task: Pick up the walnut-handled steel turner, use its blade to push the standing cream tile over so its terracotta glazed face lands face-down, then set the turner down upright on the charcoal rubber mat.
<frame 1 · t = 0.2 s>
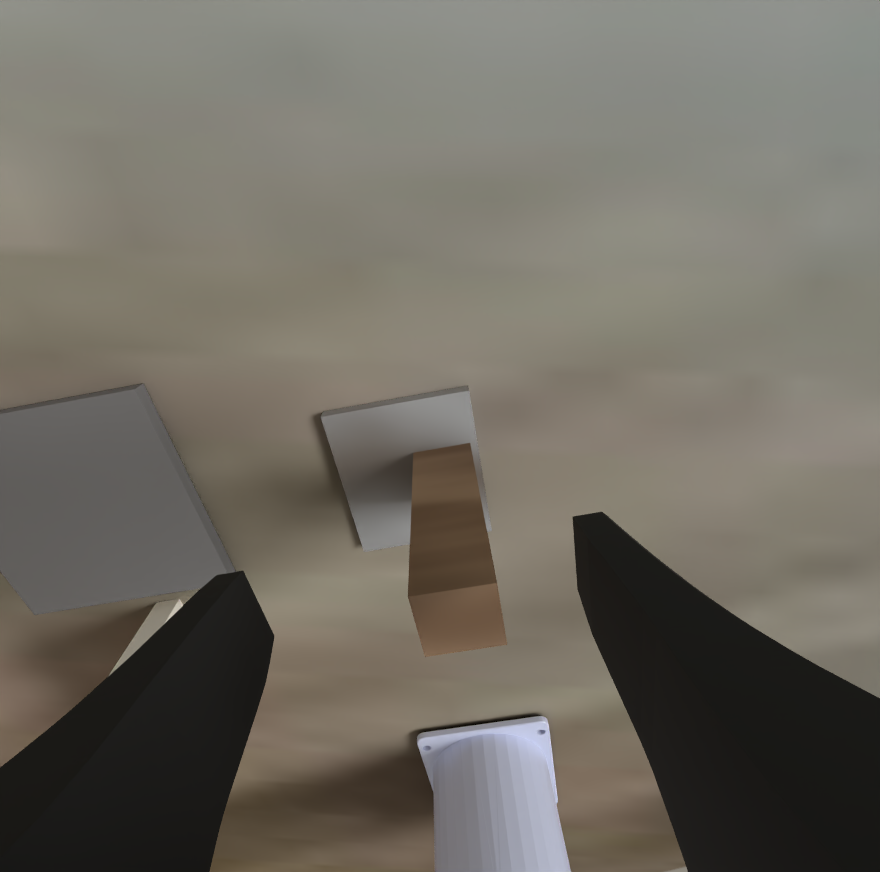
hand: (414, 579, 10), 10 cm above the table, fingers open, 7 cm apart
tile: (196, 648, 25), on the table
turner: (445, 464, 21), on the table
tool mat: (87, 507, 21), on the table
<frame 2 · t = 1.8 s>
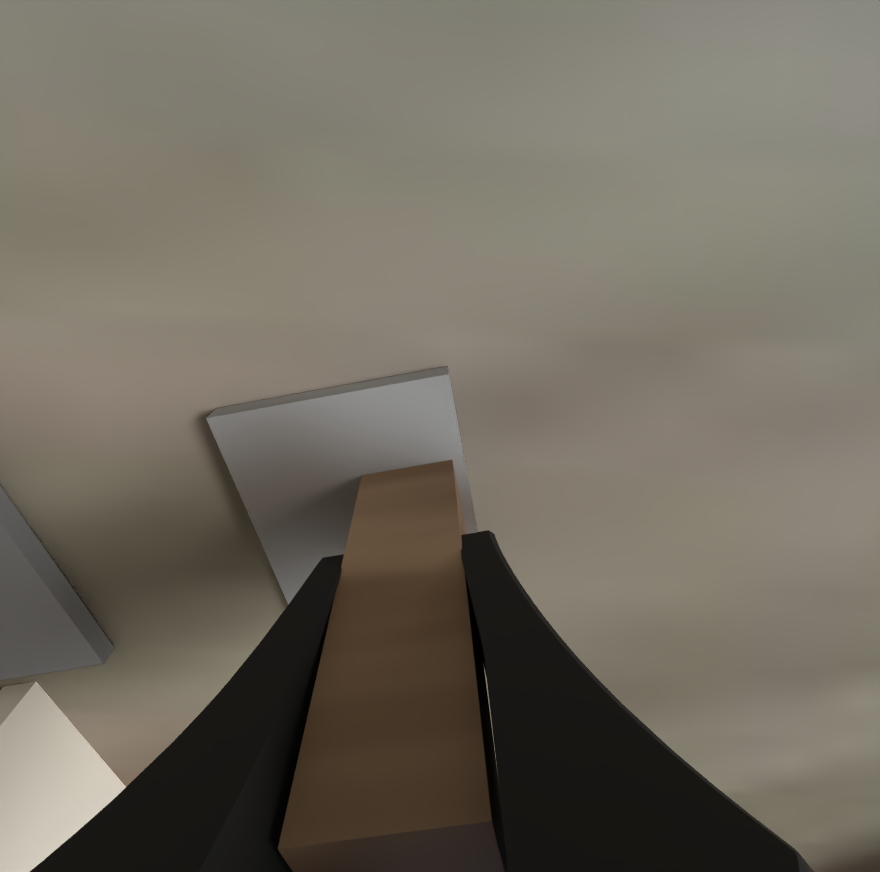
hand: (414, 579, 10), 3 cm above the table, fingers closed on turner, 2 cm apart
tile: (72, 743, 18), on the table
turner: (416, 492, 13), on the table, touching gripper
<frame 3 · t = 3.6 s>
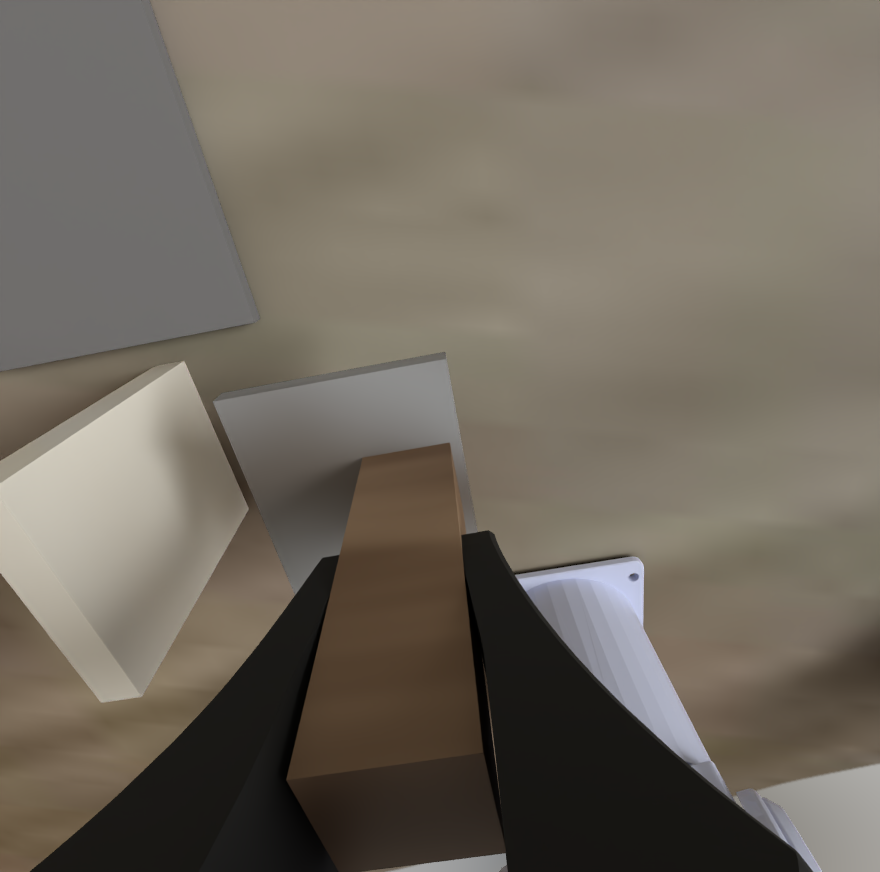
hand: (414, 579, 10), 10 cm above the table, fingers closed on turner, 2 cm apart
tile: (205, 443, 20), on the table
turner: (415, 476, 14), point 6 cm above the table, touching gripper
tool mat: (61, 196, 16), on the table
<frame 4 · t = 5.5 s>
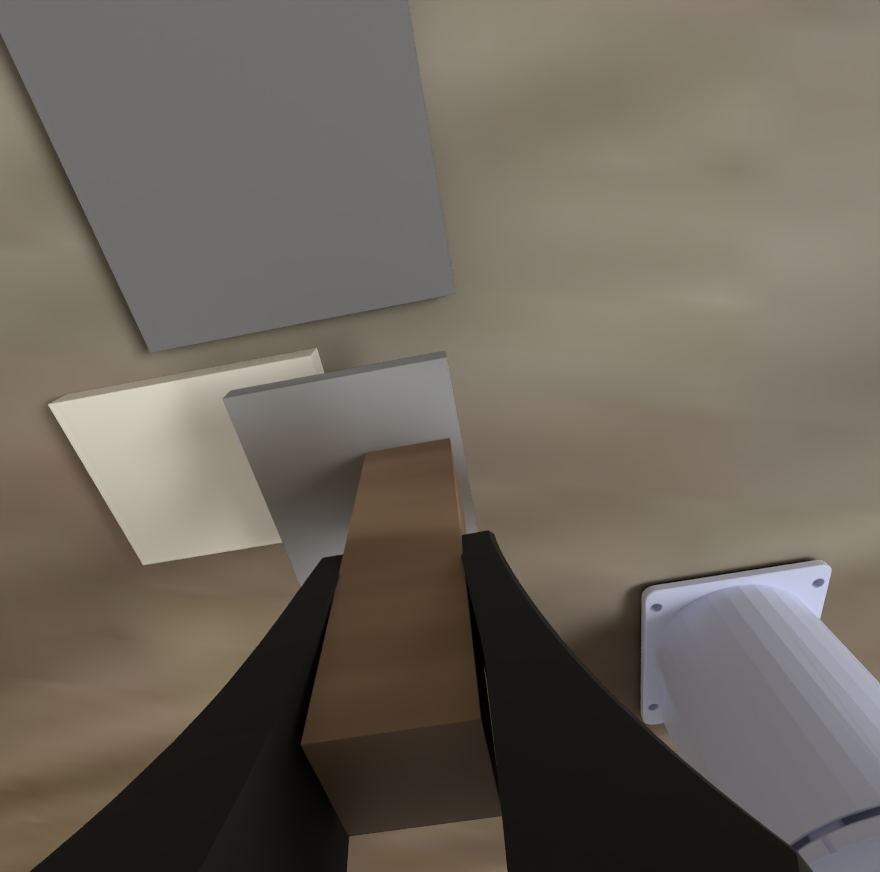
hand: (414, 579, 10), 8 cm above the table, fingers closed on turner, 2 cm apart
tile: (342, 442, 17), on the table, tilted 90°
turner: (416, 470, 14), point 3 cm above the table, touching gripper
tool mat: (250, 144, 13), on the table
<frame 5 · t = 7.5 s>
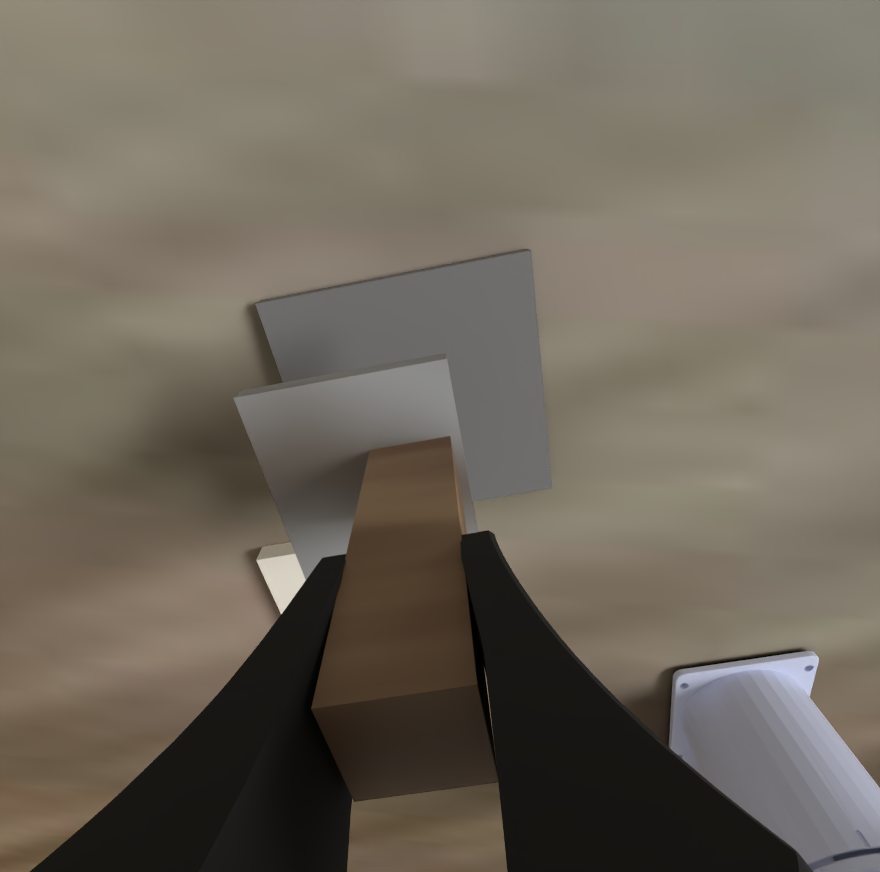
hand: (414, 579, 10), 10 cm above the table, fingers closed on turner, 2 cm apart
tile: (459, 576, 24), on the table, tilted 90°
turner: (418, 468, 15), point 5 cm above the table, touching gripper
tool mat: (418, 399, 20), on the table
when the fingers open (5 cm above the table, at t = 8.6 s): turner stays where it is, resting on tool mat.
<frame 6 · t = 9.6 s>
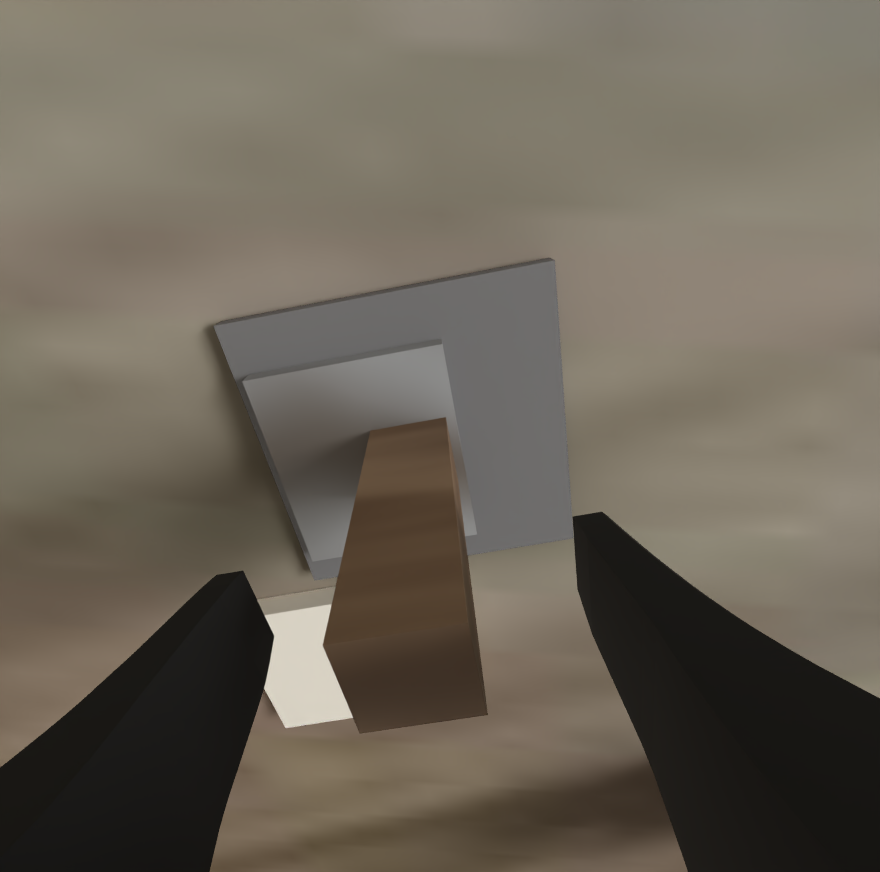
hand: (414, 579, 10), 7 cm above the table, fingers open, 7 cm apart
tile: (465, 633, 20), on the table, tilted 90°
turner: (415, 448, 16), point 1 cm above the table, touching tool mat
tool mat: (416, 437, 16), on the table
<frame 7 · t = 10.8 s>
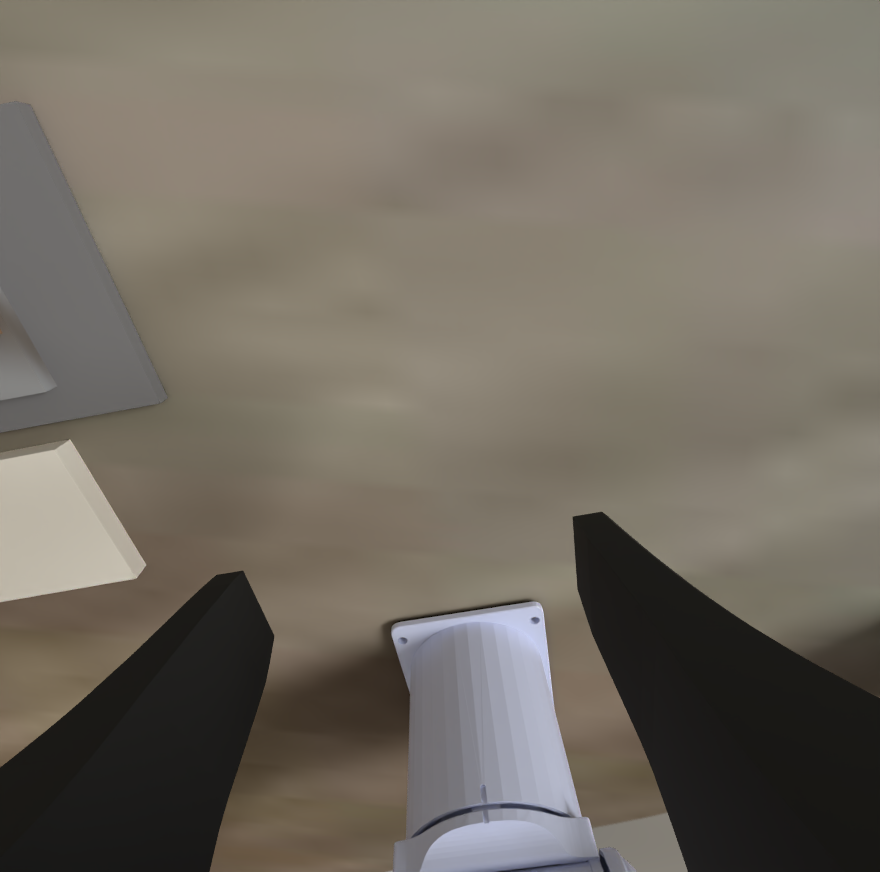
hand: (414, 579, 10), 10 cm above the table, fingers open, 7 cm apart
tile: (106, 510, 21), on the table, tilted 90°
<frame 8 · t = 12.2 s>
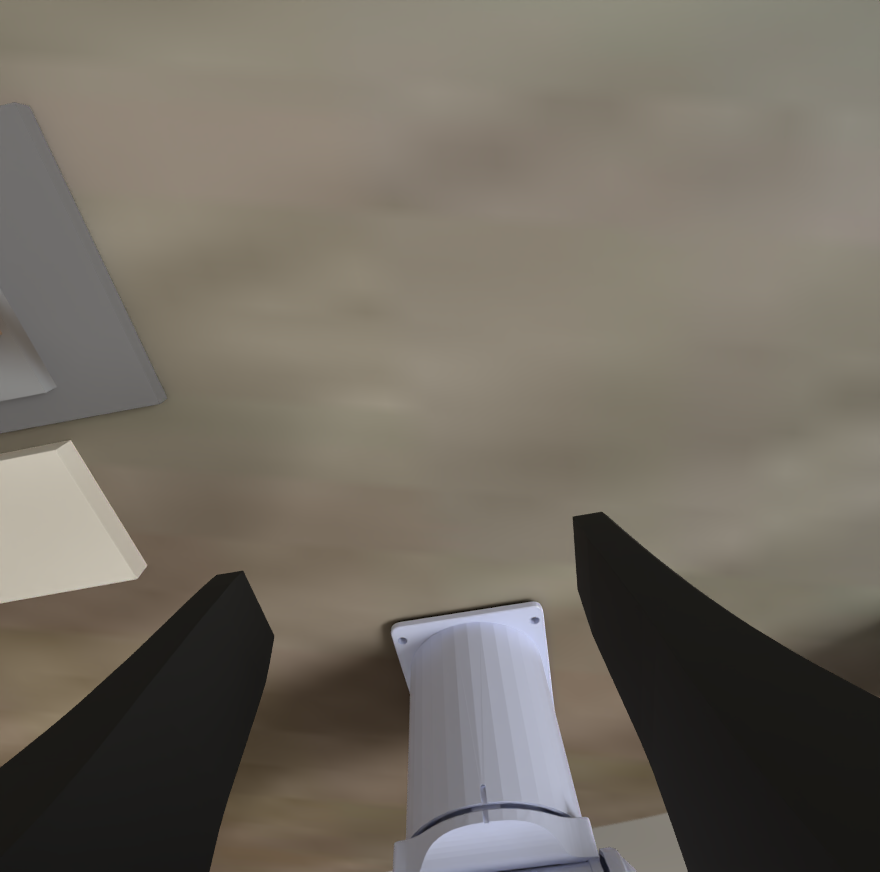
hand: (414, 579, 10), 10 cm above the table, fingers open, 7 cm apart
tile: (107, 511, 21), on the table, tilted 90°
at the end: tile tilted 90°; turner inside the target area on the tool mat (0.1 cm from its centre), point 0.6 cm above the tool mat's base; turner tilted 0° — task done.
